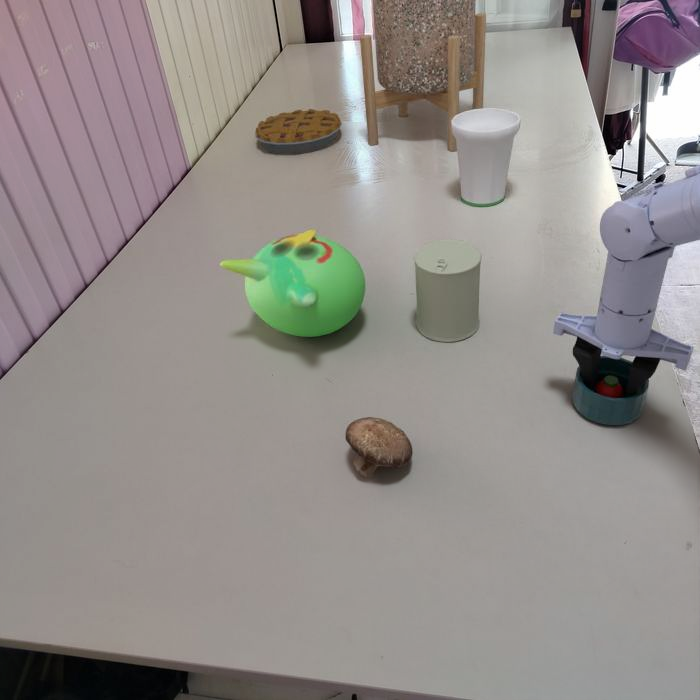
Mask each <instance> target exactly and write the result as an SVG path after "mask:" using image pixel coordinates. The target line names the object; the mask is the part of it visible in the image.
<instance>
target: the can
mask: <svg viewBox="0 0 700 700" xmlns="http://www.w3.org/2000/svg"><path fill="white" fill-rule="evenodd" d="M413 260H414V261H413V262H414V272H415V292H416V293H415V295H416V297H415V298H416V319H415V320H416V322H415V325H416V329H417V330H418V332H419V333H420V334H421V335H422V336H423V337H425V338H426V339H429V340H431V341H435V342H440V343H455V342H461V341H464V340H466V339H468V338H470V337H473V335H475V333H477V331H478V329H479V327H480V318H479V316H480V312H479V311H480V310H479V309H480V283H481V281H480V279H481V263H482V252H481V251H480V249H479V248H478V246H476V245H474V244H473V243H470V242H468V241H466V240H465V241H464V240H460V239H439V240H434V241H431V242H428V243H425V244H423V245H422V246H420V247H419V248H418V249H417V250H415V254H414V256H413Z"/></svg>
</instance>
